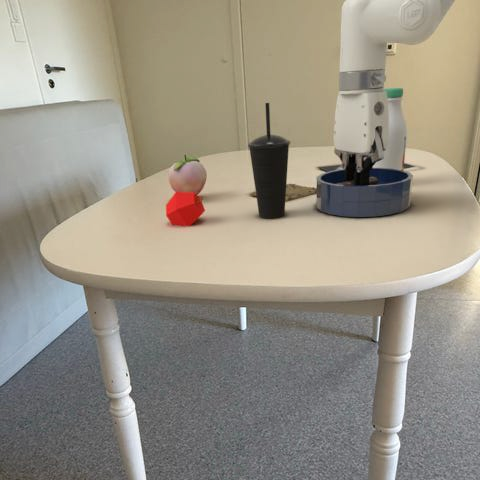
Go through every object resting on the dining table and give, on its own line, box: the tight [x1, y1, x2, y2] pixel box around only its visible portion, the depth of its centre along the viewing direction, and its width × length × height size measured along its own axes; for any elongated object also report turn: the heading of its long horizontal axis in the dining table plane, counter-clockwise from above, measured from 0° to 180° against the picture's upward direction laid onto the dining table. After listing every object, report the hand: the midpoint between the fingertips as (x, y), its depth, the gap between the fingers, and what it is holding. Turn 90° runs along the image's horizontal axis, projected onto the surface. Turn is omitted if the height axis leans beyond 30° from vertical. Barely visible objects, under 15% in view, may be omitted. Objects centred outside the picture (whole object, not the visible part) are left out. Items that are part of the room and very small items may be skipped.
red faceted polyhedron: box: [165, 192, 206, 227], centre depth 85 cm, size 7×7×8 cm
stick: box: [338, 177, 378, 186], centre depth 85 cm, size 10×2×2 cm, turn 117°
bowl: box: [316, 168, 414, 218], centre depth 86 cm, size 18×18×6 cm
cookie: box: [249, 183, 317, 203], centre depth 102 cm, size 12×12×1 cm
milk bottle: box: [373, 87, 408, 171], centre depth 97 cm, size 8×8×20 cm
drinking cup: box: [247, 102, 291, 220], centre depth 81 cm, size 8×8×20 cm
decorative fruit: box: [167, 154, 208, 196], centre depth 102 cm, size 9×8×10 cm
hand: (355, 190), depth 85 cm, fingers closed on stick, 2 cm apart
